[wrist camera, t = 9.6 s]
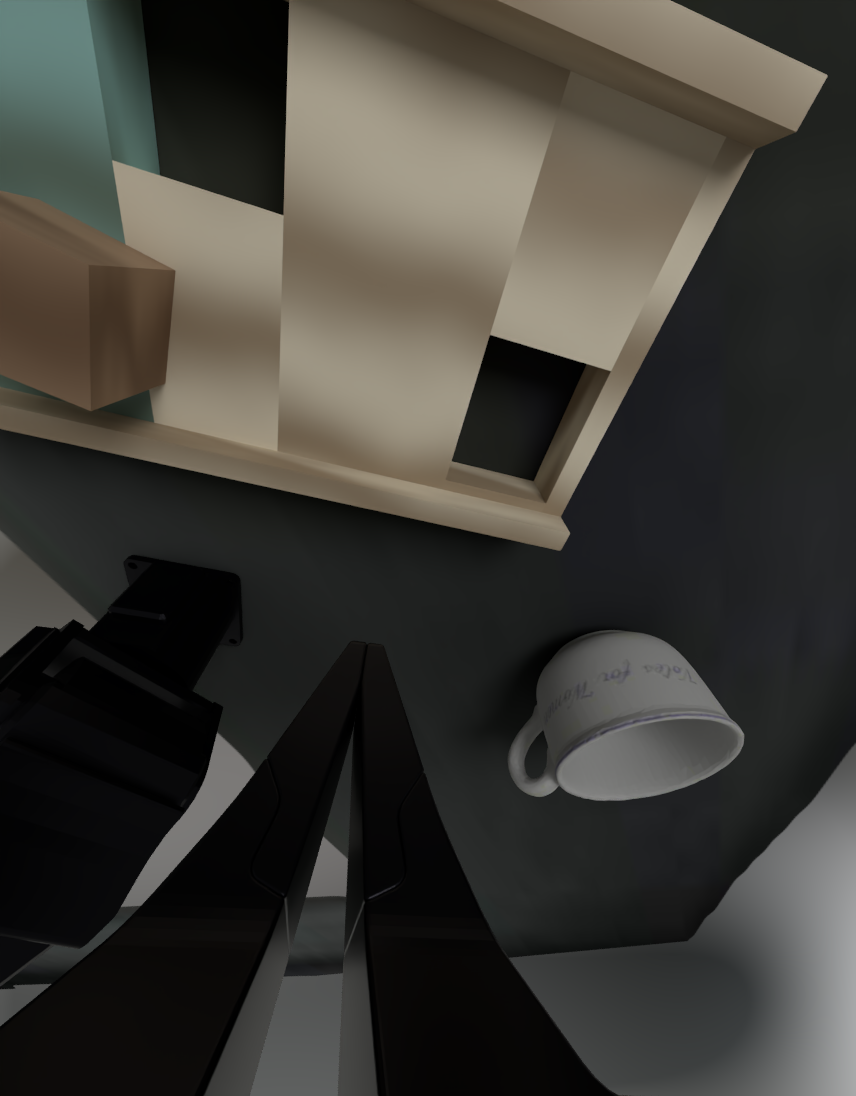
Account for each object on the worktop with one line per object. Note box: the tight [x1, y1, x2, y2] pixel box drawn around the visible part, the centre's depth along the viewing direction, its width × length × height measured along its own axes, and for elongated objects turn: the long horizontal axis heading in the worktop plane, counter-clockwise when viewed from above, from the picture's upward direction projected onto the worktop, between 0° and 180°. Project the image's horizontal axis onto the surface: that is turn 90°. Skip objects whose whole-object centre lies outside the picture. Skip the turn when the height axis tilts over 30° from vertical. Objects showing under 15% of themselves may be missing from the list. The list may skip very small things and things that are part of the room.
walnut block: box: [0, 191, 176, 411], centre depth 12 cm, size 4×4×4 cm
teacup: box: [508, 630, 744, 801], centre depth 26 cm, size 14×11×8 cm
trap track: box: [0, 0, 828, 551], centre depth 13 cm, size 15×26×4 cm, turn 76°
